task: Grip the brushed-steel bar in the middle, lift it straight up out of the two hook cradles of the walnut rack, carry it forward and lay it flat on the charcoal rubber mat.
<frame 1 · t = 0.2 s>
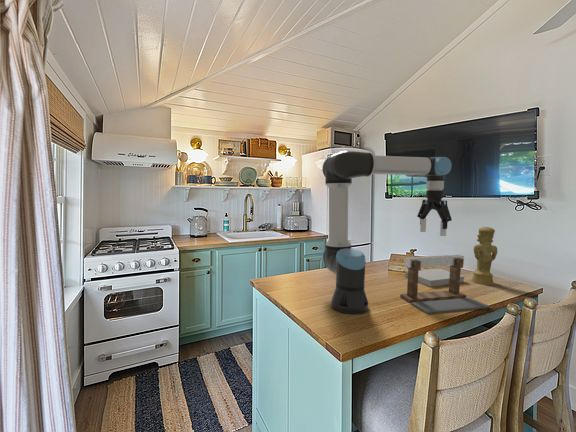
hand: (432, 233, 141), 28 cm above the countertop, tool pointing down, fingers open, 13 cm apart
rack: (433, 297, 132), on the countertop
statue: (482, 282, 156), on the countertop
rail: (434, 265, 131), point 15 cm above the countertop, touching rack
mat: (449, 306, 122), on the countertop
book: (433, 280, 160), on the countertop
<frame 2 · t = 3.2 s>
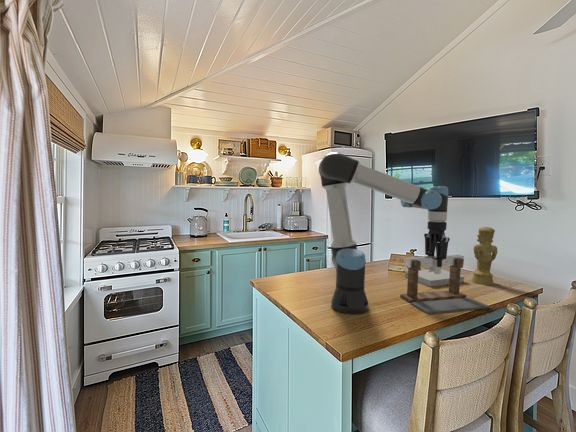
hand: (434, 272, 131), 12 cm above the countertop, tool pointing down, fingers closed on rail, 3 cm apart
rail: (434, 265, 131), point 15 cm above the countertop, touching gripper, rack
everything else where it was.
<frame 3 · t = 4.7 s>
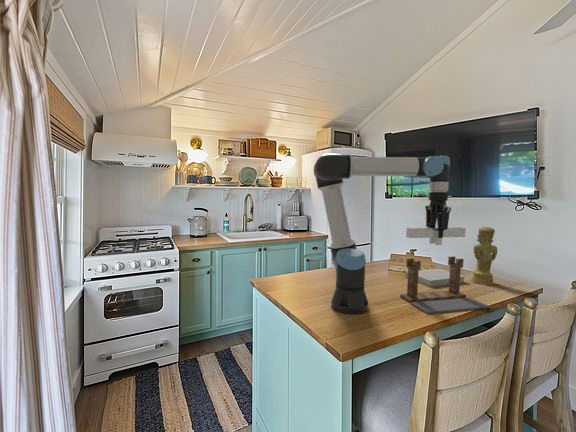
hand: (435, 244, 130), 25 cm above the countertop, tool pointing down, fingers closed on rail, 3 cm apart
rail: (435, 236, 130), point 28 cm above the countertop, touching gripper
everything else where it was.
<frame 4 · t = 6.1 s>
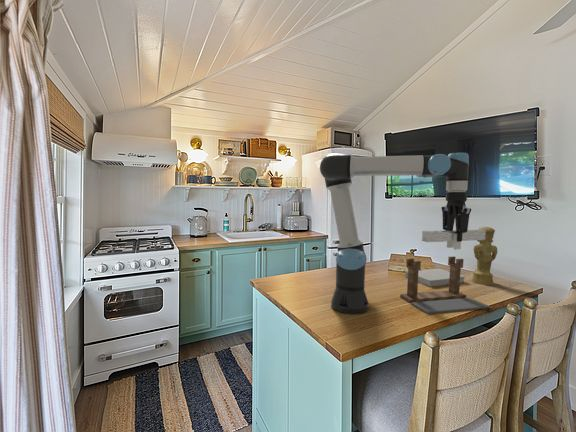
hand: (453, 248, 120), 25 cm above the countertop, tool pointing down, fingers closed on rail, 3 cm apart
rail: (454, 240, 120), point 28 cm above the countertop, touching gripper
everything else where it was.
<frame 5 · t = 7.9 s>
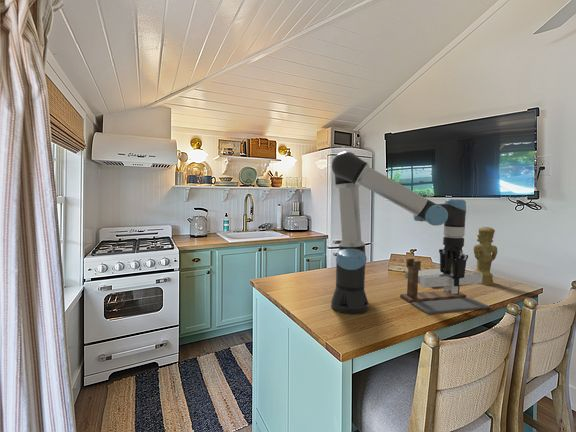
hand: (450, 291, 122), 6 cm above the countertop, tool pointing down, fingers closed on rail, 3 cm apart
rail: (451, 284, 122), point 10 cm above the countertop, touching gripper
everything else where it was.
when the fingers open (2 cm above the countertop, at t = 9.3 s): rail drops 4 cm, resting on mat.
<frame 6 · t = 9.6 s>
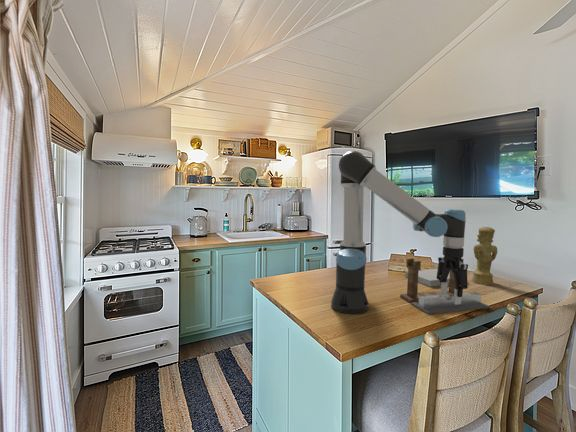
hand: (450, 300, 122), 3 cm above the countertop, tool pointing down, fingers open, 7 cm apart
rail: (449, 304, 122), point 1 cm above the countertop, touching mat
everything else where it was.
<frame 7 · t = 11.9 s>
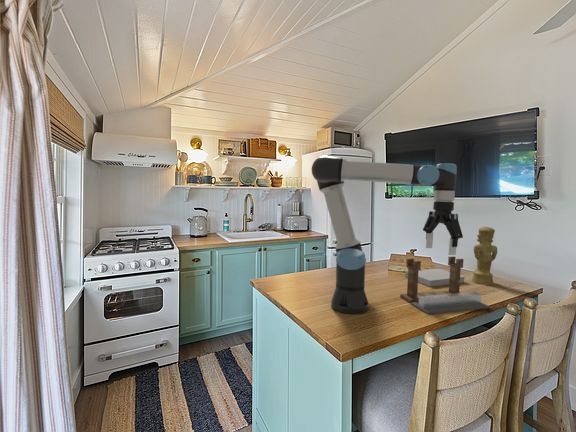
hand: (439, 251, 123), 23 cm above the countertop, tool pointing down, fingers open, 13 cm apart
nothing on the countertop moved.
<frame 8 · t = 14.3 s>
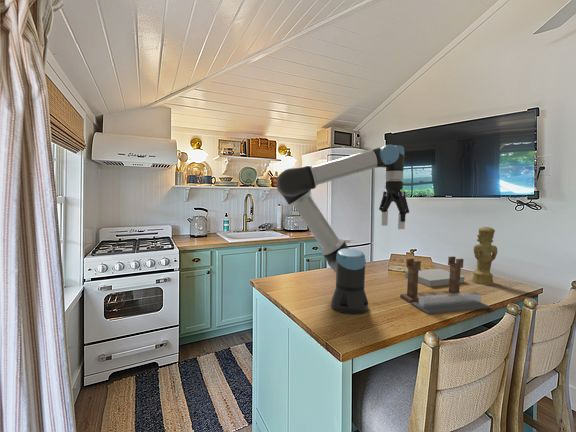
hand: (392, 227, 134), 32 cm above the countertop, tool pointing down, fingers open, 13 cm apart
nothing on the countertop moved.
at the end: rail inside the target area (0.0 cm from its centre), point 0.8 cm above the countertop; rail touching mat; the gripper is holding nothing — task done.
